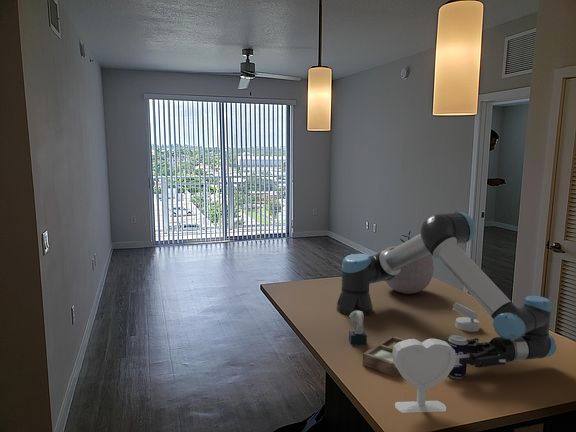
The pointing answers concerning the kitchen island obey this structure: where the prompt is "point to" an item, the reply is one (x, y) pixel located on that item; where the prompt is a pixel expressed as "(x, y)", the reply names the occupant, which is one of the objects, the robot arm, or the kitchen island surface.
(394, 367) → the brown divided tray
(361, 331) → the watch
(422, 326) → the kitchen island surface
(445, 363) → the heart sculpture
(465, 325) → the wall hook
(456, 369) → the beverage can
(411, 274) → the plant pot
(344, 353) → the kitchen island surface
